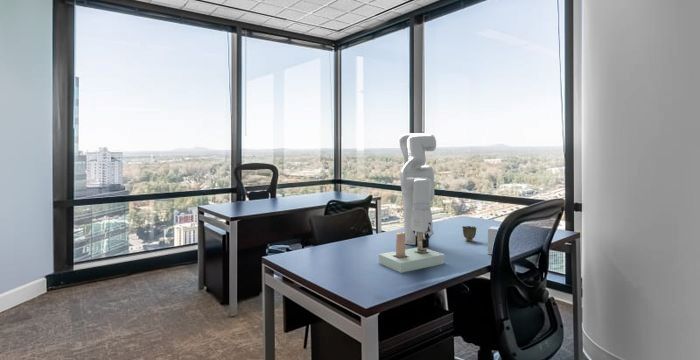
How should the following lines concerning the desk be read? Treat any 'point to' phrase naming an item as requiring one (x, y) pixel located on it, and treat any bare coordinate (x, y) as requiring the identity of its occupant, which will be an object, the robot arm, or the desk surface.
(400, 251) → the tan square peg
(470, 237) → the cup
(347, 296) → the desk surface
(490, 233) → the supplement box
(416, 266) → the peg board
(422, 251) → the ash peg
